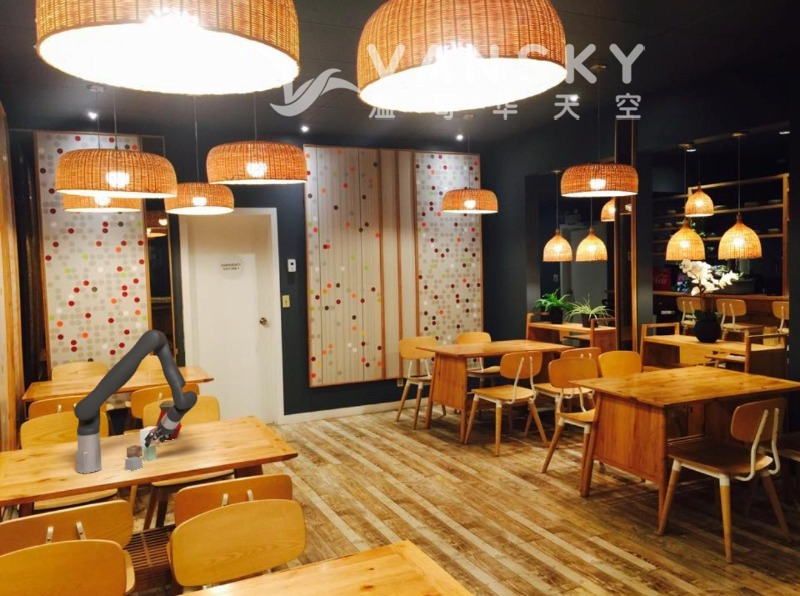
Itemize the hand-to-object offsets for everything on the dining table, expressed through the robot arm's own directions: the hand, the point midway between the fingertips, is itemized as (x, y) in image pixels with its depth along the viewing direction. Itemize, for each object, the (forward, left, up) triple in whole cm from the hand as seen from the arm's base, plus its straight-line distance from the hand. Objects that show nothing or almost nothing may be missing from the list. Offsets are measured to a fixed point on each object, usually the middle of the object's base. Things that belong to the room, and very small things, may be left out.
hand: (153, 443), depth 301 cm
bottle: (+30, +25, -8) cm, 40 cm away
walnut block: (0, +14, -8) cm, 16 cm away
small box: (+13, +19, -8) cm, 24 cm away
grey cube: (-13, -2, -8) cm, 16 cm away
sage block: (0, +3, -8) cm, 9 cm away
